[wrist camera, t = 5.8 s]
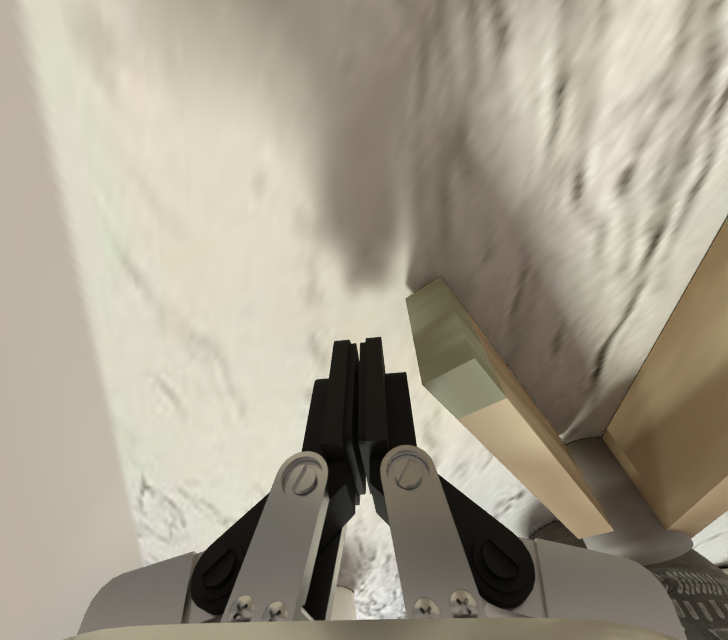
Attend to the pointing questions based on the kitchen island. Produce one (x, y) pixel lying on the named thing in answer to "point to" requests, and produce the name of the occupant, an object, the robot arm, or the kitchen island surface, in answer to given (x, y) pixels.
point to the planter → (677, 586)
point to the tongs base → (669, 431)
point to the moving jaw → (497, 407)
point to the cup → (343, 605)
